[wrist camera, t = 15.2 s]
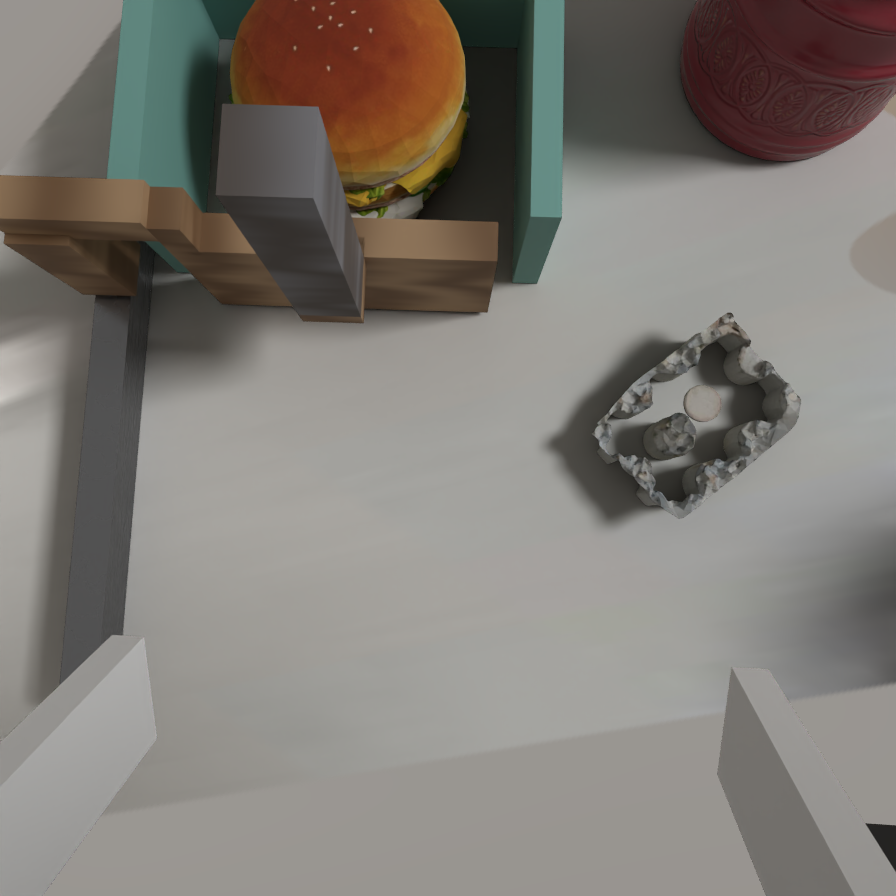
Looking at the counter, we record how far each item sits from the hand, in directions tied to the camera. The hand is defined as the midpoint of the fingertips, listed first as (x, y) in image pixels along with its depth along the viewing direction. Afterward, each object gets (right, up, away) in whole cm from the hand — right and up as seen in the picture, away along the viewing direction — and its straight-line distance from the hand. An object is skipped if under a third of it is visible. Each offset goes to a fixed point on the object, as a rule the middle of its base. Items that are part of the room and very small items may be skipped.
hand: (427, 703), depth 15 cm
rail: (-19, +6, +25) cm, 32 cm away
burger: (-5, +25, +28) cm, 38 cm away
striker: (-9, +14, +26) cm, 31 cm away
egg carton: (+15, +7, +26) cm, 31 cm away
